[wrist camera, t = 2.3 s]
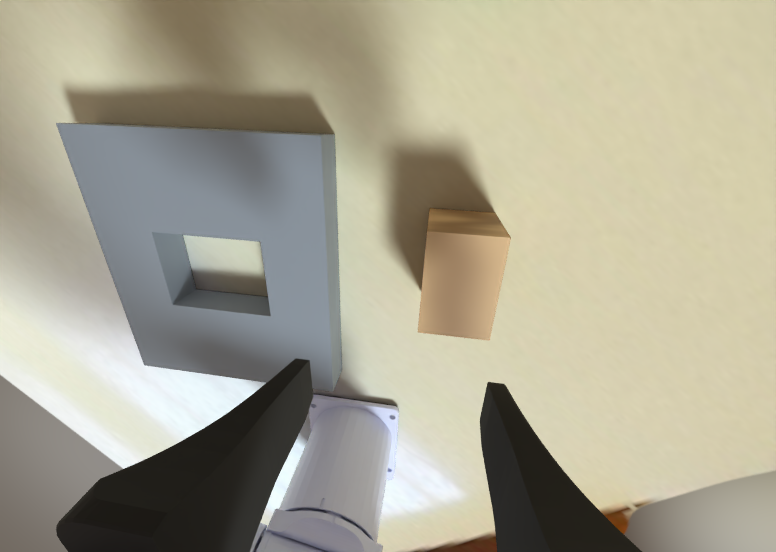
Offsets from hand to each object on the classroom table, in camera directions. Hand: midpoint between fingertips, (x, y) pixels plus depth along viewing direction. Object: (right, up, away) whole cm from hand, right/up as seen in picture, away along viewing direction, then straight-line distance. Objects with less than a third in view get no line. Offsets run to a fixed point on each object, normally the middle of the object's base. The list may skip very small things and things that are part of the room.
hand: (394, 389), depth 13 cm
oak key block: (+4, +6, +8) cm, 11 cm away
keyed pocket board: (-12, +6, +11) cm, 17 cm away
